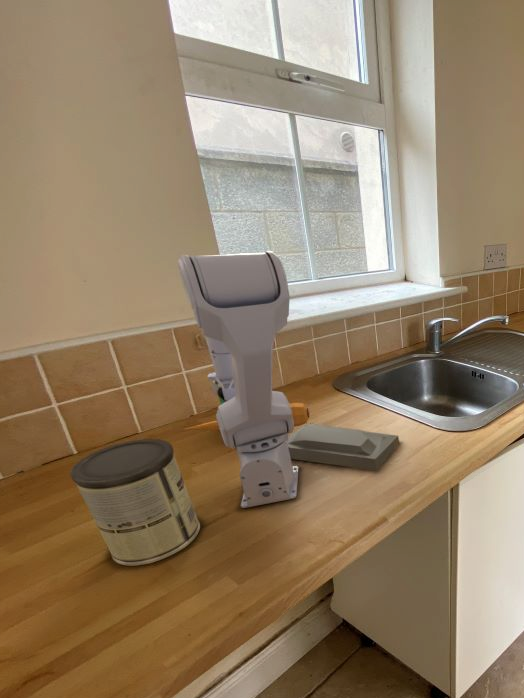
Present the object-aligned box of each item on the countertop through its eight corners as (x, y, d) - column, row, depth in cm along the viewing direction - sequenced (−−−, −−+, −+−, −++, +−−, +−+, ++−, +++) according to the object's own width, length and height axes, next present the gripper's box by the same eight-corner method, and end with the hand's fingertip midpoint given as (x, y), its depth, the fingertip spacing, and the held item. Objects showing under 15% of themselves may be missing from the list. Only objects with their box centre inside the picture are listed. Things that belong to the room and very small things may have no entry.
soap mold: (376, 470, 83) (374, 454, 81) (276, 456, 85) (273, 440, 83) (399, 442, 92) (398, 427, 90) (308, 430, 94) (305, 416, 92)
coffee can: (103, 541, 64) (62, 459, 58) (187, 507, 72) (159, 430, 65) (121, 579, 58) (78, 492, 52) (211, 538, 66) (183, 457, 60)
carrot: (311, 422, 87) (307, 400, 87) (309, 426, 83) (305, 402, 83) (188, 440, 80) (183, 415, 80) (179, 444, 76) (174, 418, 75)
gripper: (209, 337, 80) (228, 404, 86) (191, 366, 68) (214, 442, 74) (254, 333, 82) (270, 399, 88) (245, 361, 70) (263, 435, 76)
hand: (247, 419), depth 81 cm, fingers closed on carrot, 2 cm apart
